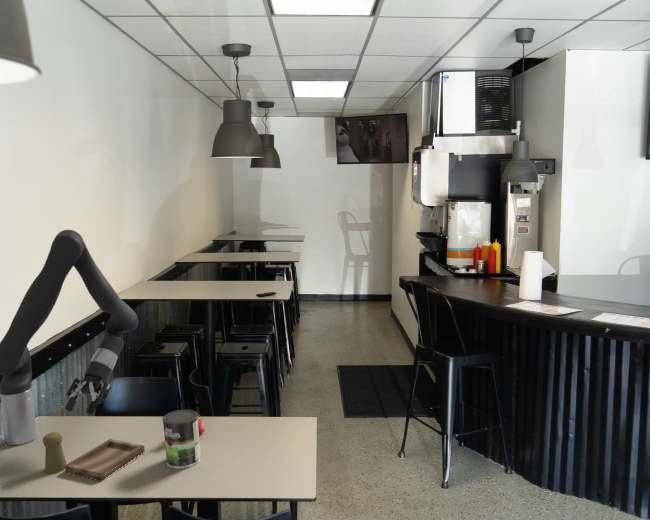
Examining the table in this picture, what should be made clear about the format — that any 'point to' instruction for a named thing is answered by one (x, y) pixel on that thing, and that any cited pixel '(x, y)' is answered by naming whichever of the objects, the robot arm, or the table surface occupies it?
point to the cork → (54, 453)
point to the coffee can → (181, 438)
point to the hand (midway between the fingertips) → (78, 412)
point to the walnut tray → (104, 459)
